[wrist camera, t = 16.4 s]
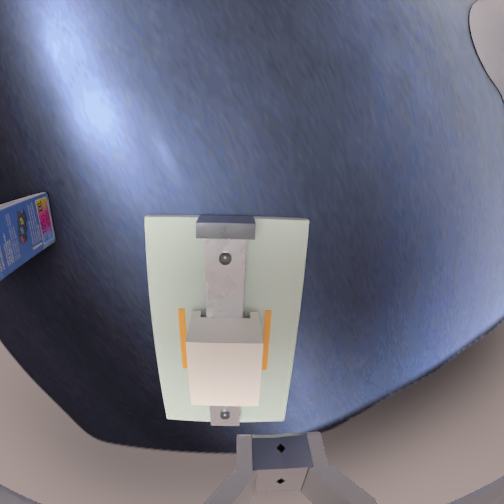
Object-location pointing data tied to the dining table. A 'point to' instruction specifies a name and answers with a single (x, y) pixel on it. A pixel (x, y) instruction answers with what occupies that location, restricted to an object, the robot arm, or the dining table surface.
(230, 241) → the rail
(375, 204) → the dining table surface
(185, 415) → the mounting board
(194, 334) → the block
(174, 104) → the dining table surface
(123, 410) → the dining table surface
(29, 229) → the ink cartridge box
